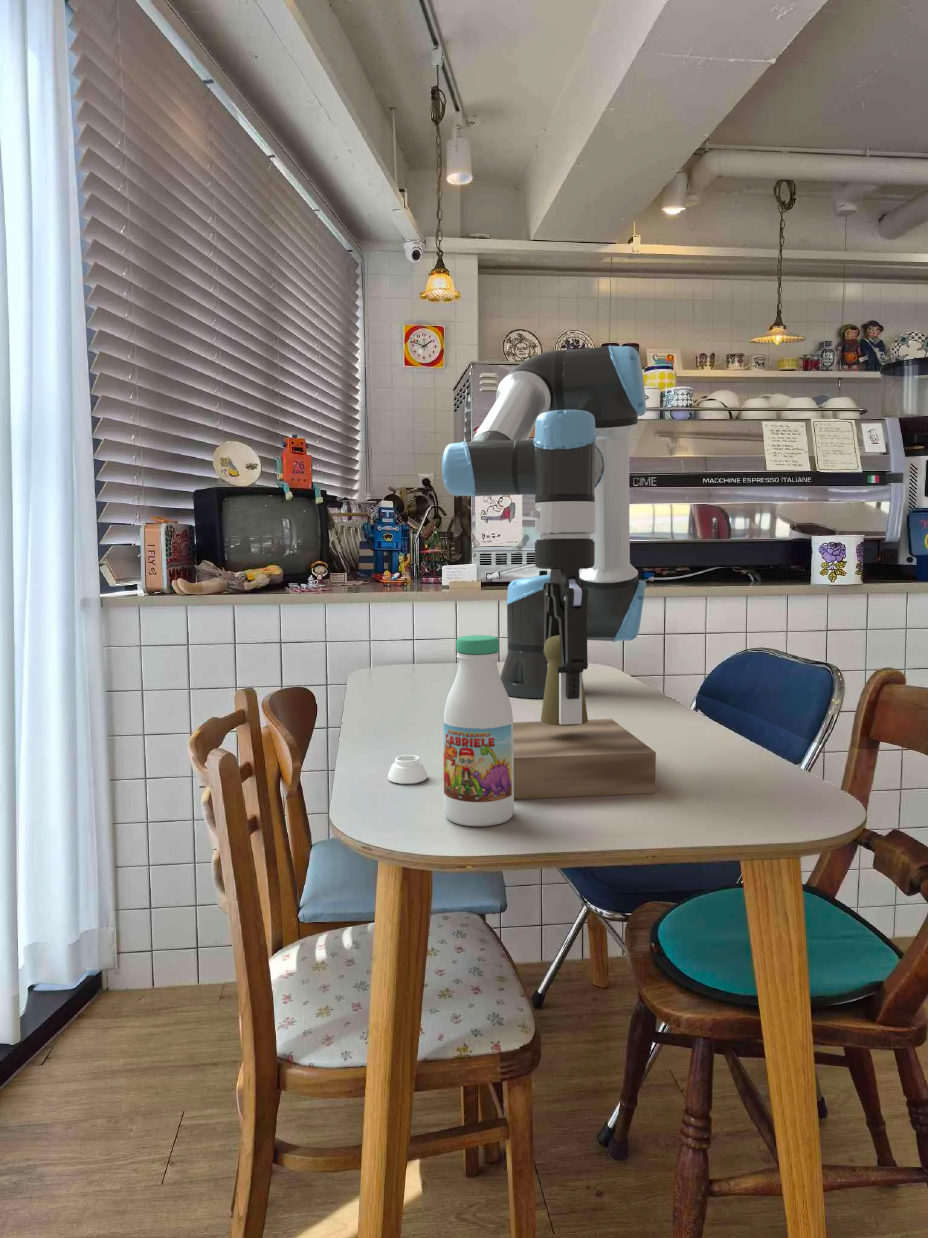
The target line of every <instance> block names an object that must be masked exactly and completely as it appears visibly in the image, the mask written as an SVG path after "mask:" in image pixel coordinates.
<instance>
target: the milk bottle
mask: <svg viewBox="0 0 928 1238" xmlns="http://www.w3.org/2000/svg"><path fill="white" fill-rule="evenodd" d="M499 644H500V641H499V638H498V637H496V636H492V635H483V634H482V635H481V634H477V635H476V634H475V635H463V636H459V637H458V638H456V646H455V647H456V652H457V653H456V658H457V659H458V667H457V672H456V676H455V677H454V681H453V684H452V686H451V688H450V691H449V693H448V695H447V698H446V701H445V706H444V711H443V738H442V739H443V742H442V743H443V751H442V752H443V754H442V755H443V807H444V808H443V809H444V814H445V817H446V819H447V820H449V821H450V822H452V823H454V824H457V825H461V826H466V827H490V826H497V825H501V824H504V823H506V822H508V821H510V819H511V818H512V816H513V814H514V806H515V805H514V804H515V800H514V748H513V722H514V721H513V719H514V718H513V707H512V703H511V700H510V697H509V695H508V694H507V692H506V690H505V688H504V685H503V683H502V681H501V678H500V676H501V674H500V672H499V668H498V664H497V663H498V660H497V659H498V658H499V655H500V654H499V650H500V645H499Z"/></svg>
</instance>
